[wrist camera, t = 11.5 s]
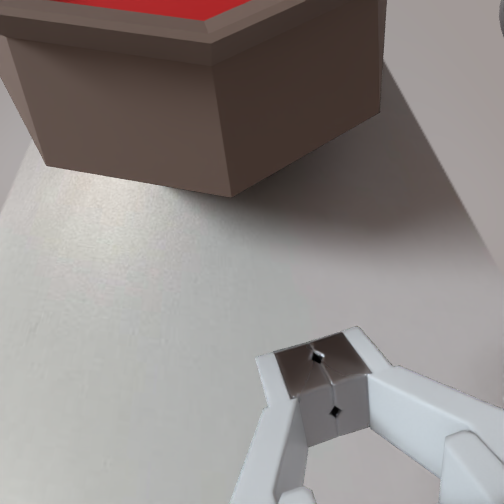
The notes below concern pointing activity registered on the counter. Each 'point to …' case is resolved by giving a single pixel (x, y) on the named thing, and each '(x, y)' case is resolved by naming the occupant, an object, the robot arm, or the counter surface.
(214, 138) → the octagonal pot
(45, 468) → the counter surface
